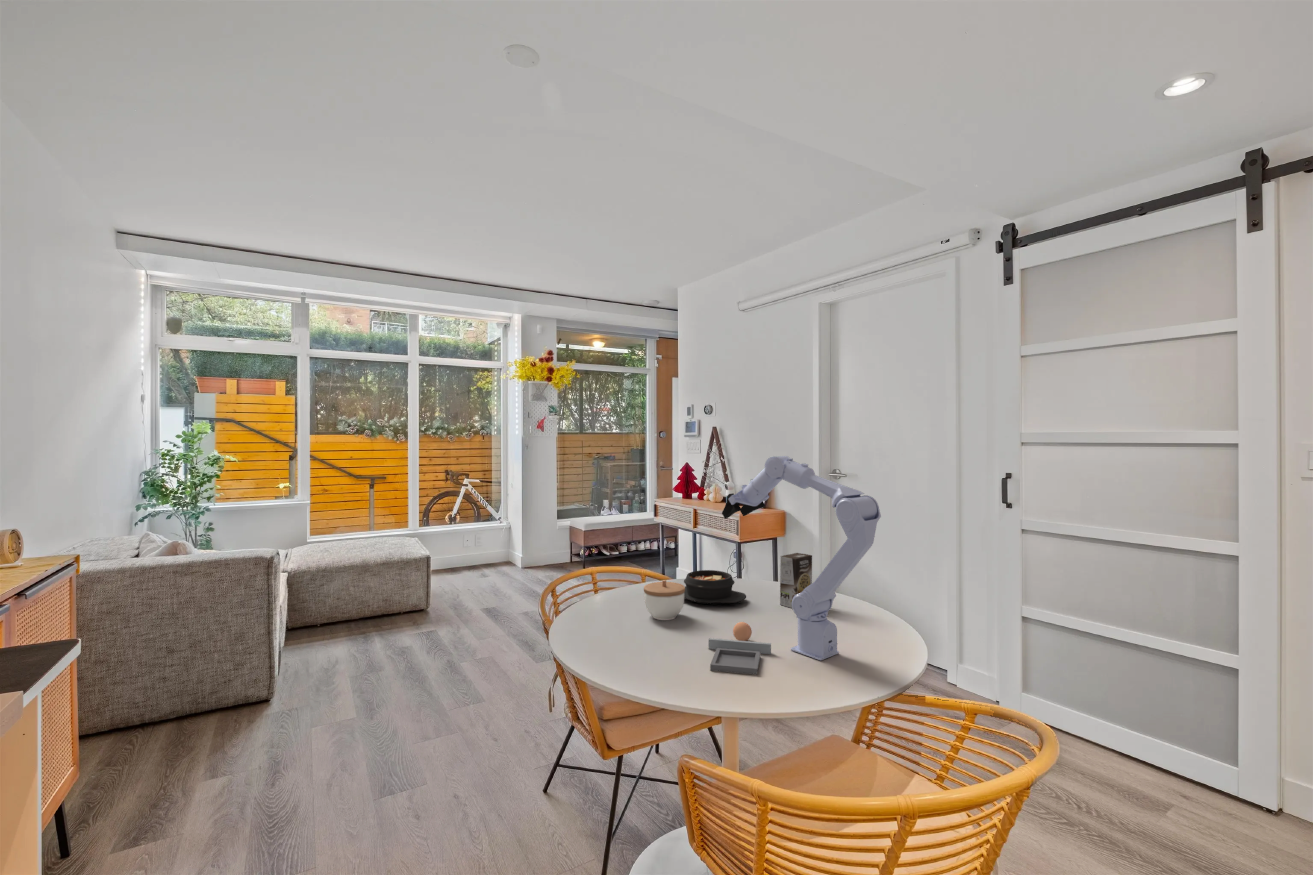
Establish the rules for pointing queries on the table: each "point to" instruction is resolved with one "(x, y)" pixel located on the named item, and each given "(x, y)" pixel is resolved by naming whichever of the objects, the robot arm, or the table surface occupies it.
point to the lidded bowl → (664, 599)
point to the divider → (740, 645)
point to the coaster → (735, 661)
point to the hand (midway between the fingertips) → (733, 514)
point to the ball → (742, 631)
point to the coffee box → (794, 576)
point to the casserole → (711, 587)
